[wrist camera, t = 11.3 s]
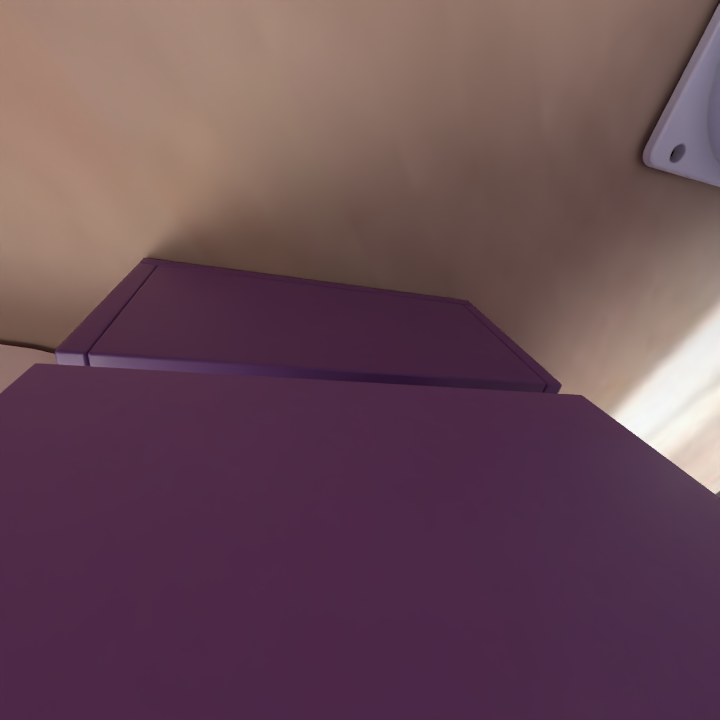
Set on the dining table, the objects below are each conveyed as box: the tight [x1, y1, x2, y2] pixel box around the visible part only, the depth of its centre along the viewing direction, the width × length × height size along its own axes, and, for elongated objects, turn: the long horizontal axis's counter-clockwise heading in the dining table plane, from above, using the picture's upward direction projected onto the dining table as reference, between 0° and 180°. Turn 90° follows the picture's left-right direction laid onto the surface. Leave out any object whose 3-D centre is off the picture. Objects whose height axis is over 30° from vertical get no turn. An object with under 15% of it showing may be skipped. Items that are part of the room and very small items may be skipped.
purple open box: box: [55, 258, 562, 394], centre depth 13 cm, size 13×11×6 cm
